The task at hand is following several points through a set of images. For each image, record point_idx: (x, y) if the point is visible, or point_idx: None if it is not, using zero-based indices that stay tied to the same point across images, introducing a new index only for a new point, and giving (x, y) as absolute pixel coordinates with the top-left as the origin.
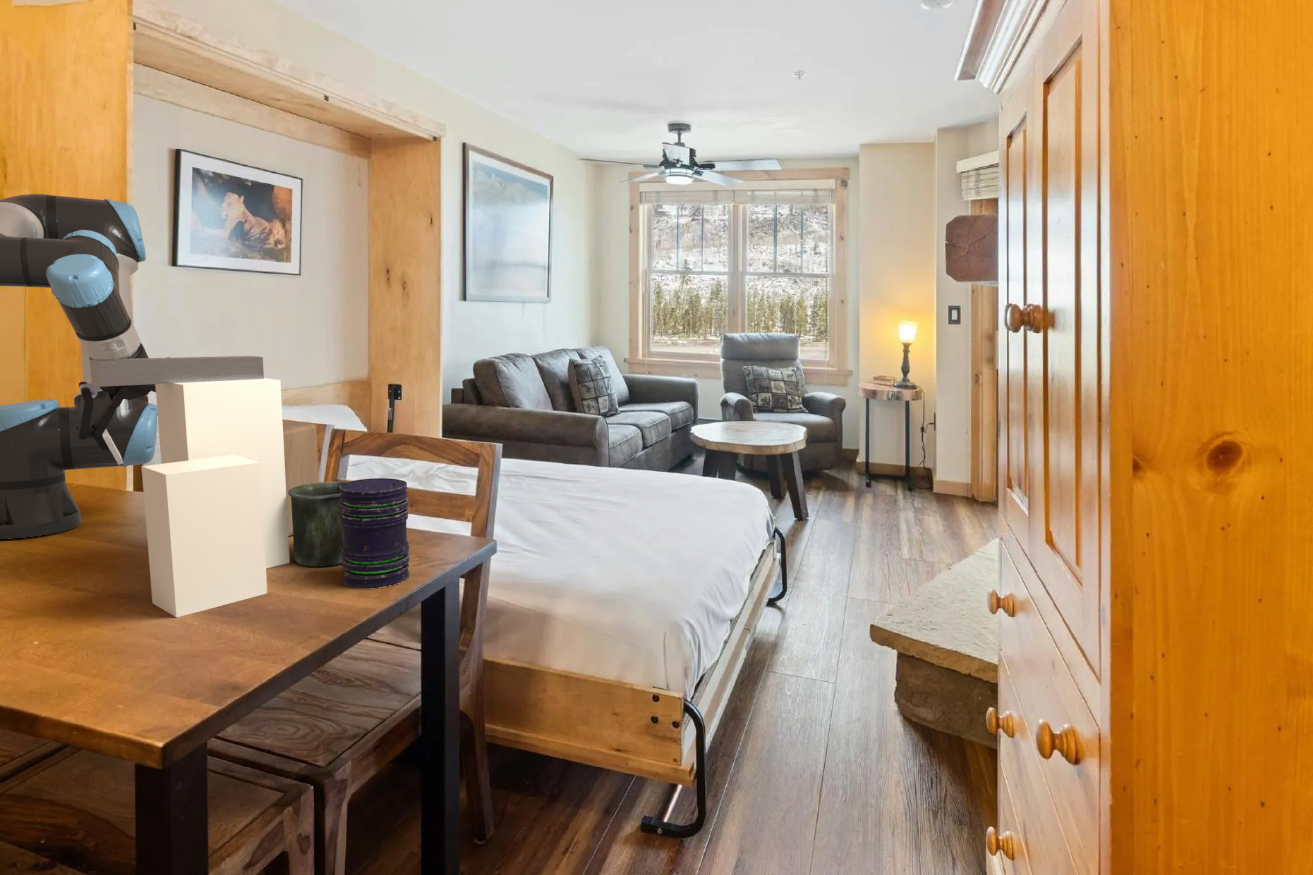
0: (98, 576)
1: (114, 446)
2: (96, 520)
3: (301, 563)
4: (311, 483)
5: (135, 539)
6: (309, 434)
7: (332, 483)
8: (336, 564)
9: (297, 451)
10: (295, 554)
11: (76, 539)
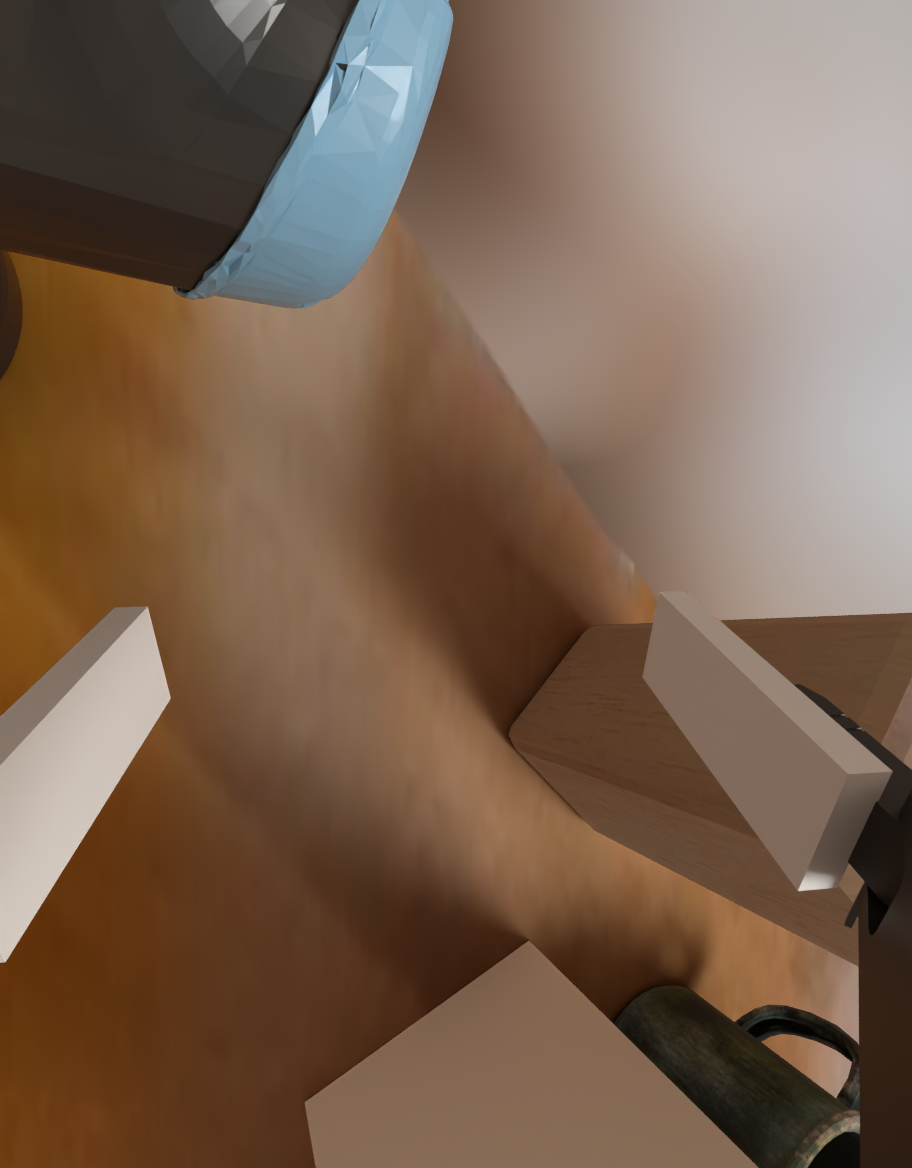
0: (90, 1125)
1: (93, 793)
2: (81, 299)
3: None
4: (819, 1146)
5: (214, 662)
6: None
7: (859, 1130)
8: None
9: None
10: None
11: (6, 564)
